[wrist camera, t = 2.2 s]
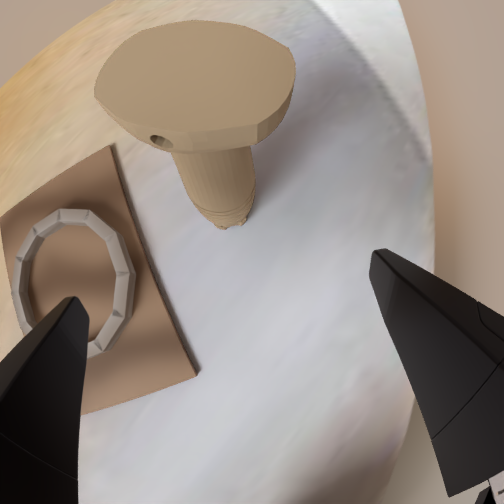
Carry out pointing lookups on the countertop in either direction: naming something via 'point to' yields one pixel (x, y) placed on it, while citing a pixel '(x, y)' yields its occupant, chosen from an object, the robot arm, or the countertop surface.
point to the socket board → (94, 281)
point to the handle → (202, 104)
